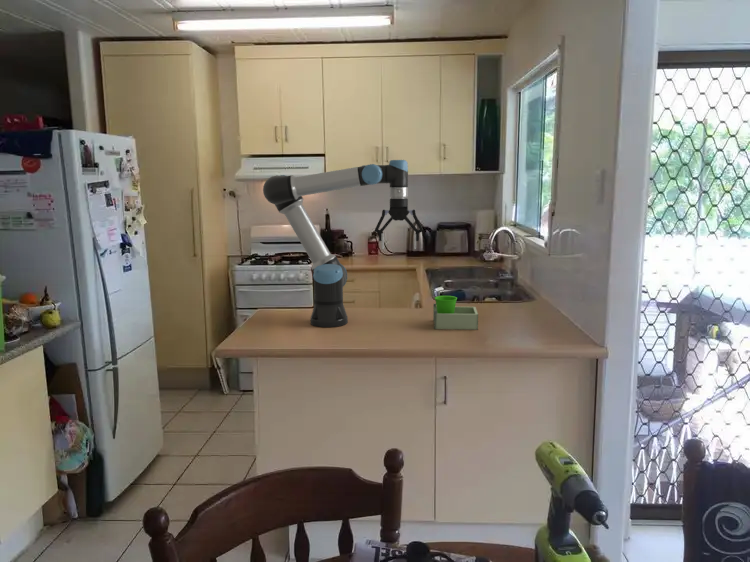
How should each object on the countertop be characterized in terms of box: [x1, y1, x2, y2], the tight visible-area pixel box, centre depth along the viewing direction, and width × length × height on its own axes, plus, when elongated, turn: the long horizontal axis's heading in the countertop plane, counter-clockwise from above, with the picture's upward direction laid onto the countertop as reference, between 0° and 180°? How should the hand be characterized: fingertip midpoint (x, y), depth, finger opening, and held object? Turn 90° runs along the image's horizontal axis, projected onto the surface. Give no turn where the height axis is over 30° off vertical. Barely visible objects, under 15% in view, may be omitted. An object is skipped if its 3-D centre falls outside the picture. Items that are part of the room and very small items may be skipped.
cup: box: [433, 295, 458, 314], centre depth 235 cm, size 9×9×11 cm
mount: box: [432, 303, 479, 331], centre depth 235 cm, size 17×14×7 cm
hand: (398, 249), depth 247 cm, fingers open, 13 cm apart
